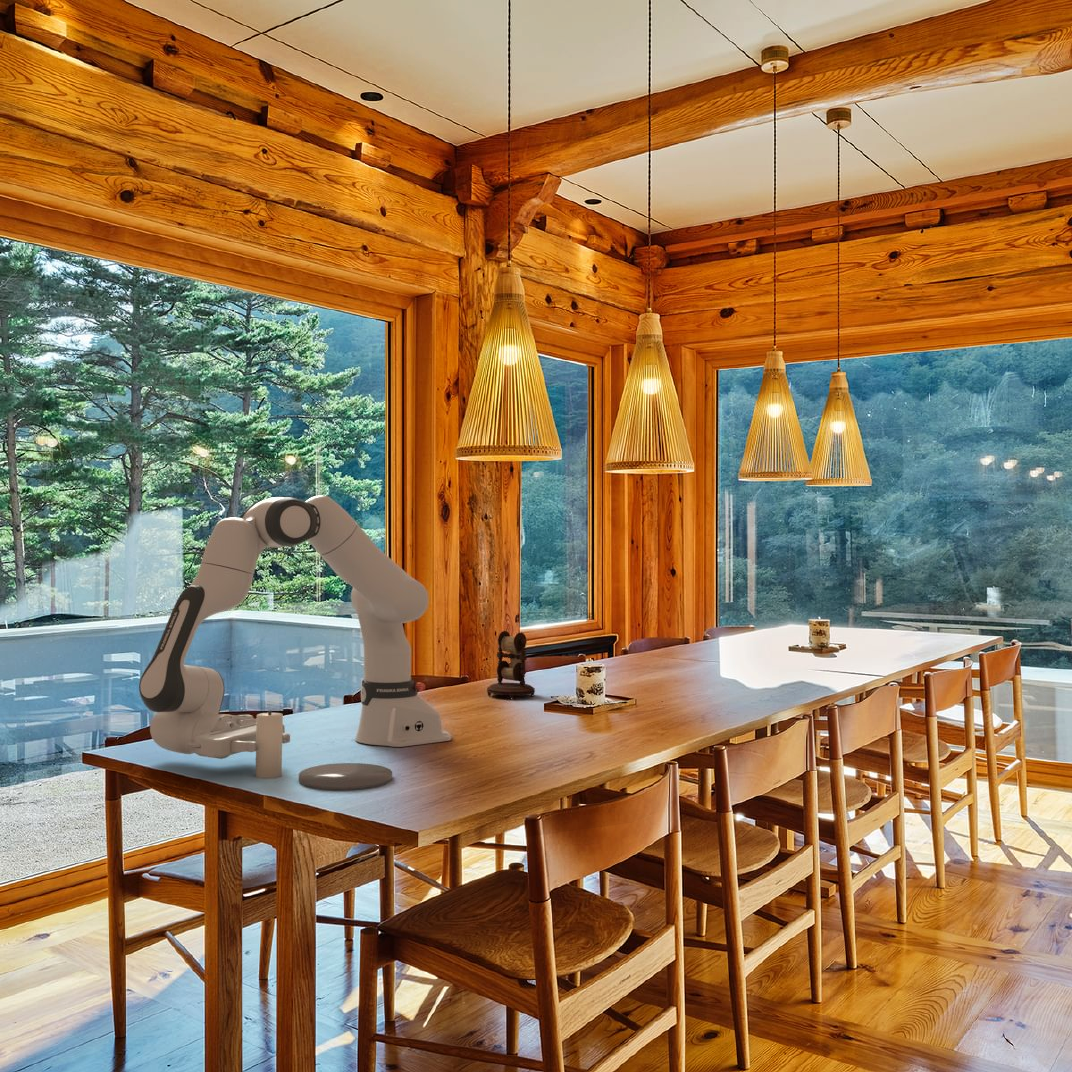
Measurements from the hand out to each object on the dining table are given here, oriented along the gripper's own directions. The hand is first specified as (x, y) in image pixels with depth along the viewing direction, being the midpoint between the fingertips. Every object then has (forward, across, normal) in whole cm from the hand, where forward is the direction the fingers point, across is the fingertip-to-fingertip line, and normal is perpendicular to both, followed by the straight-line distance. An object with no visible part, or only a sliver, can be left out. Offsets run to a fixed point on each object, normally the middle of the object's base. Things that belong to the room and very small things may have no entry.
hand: (272, 742), depth 196 cm
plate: (+14, +5, +6) cm, 16 cm away
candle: (-1, 0, +6) cm, 7 cm away
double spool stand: (-6, +118, +7) cm, 119 cm away
